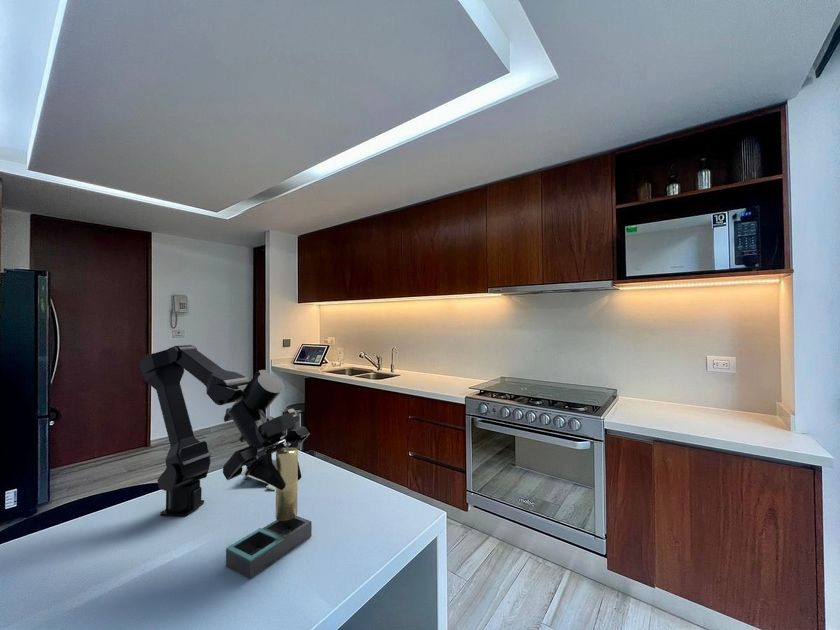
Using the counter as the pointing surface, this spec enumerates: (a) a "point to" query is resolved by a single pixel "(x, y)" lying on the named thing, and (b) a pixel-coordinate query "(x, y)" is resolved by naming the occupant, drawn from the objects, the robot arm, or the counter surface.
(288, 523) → the hole rail
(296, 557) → the counter surface
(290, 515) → the brass post
